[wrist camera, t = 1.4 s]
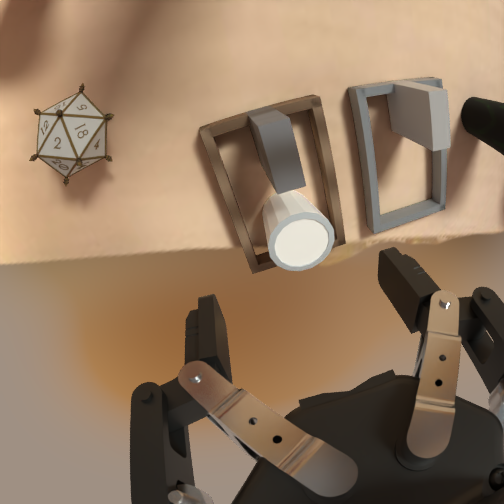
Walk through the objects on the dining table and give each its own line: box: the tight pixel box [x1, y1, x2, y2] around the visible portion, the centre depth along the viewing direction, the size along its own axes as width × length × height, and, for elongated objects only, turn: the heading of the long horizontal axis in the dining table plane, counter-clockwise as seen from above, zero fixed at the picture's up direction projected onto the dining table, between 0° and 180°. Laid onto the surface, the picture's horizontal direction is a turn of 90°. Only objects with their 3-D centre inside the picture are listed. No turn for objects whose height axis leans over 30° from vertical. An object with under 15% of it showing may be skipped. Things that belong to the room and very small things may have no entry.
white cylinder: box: [262, 190, 335, 271], centre depth 32 cm, size 7×7×7 cm
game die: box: [29, 83, 114, 186], centre depth 23 cm, size 9×8×10 cm
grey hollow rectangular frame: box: [348, 77, 451, 234], centre depth 29 cm, size 18×12×8 cm, turn 16°
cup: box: [461, 97, 504, 155], centre depth 25 cm, size 8×8×12 cm
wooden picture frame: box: [199, 95, 346, 274], centre depth 30 cm, size 18×12×8 cm, turn 16°
